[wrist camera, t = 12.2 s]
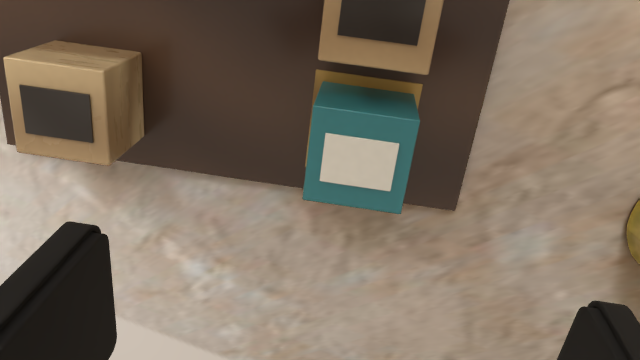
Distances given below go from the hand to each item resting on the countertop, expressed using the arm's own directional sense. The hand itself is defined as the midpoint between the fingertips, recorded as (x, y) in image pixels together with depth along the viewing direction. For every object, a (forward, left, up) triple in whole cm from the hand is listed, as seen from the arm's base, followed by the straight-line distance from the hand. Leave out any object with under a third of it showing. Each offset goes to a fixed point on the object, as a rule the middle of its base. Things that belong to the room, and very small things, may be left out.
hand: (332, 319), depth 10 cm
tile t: (-5, 0, -14) cm, 15 cm away
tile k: (+1, -12, -14) cm, 18 cm away
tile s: (+1, 0, -14) cm, 14 cm away
